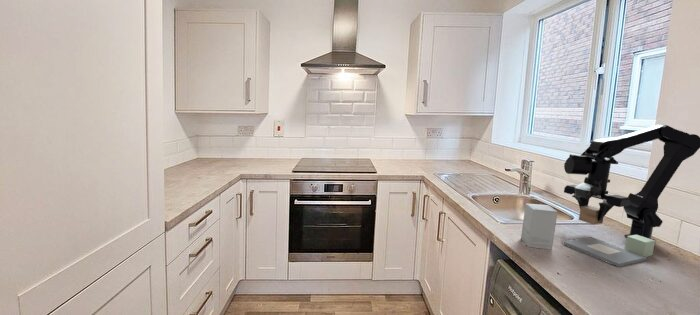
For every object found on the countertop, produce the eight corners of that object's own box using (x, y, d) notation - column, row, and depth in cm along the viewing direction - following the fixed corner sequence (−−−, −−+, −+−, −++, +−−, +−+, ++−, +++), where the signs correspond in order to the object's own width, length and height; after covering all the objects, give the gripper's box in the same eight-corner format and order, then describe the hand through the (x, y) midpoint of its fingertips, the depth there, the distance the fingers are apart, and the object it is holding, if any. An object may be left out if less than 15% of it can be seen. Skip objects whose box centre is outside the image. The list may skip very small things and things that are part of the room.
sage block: (633, 249, 107) (636, 234, 106) (652, 255, 102) (655, 240, 101) (624, 250, 105) (627, 236, 104) (643, 257, 100) (646, 242, 99)
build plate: (590, 239, 113) (590, 236, 113) (646, 260, 98) (646, 256, 98) (563, 244, 108) (563, 241, 107) (618, 267, 93) (618, 263, 93)
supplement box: (552, 250, 102) (558, 211, 101) (527, 247, 104) (532, 209, 102) (543, 241, 110) (549, 204, 108) (520, 238, 111) (525, 202, 109)
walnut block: (587, 218, 120) (589, 205, 119) (602, 223, 115) (604, 209, 114) (578, 219, 118) (580, 206, 117) (593, 224, 113) (595, 210, 112)
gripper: (556, 171, 119) (550, 212, 122) (613, 182, 102) (605, 230, 105) (576, 170, 123) (570, 209, 126) (634, 181, 106) (626, 226, 109)
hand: (590, 218), depth 116 cm, fingers closed on walnut block, 5 cm apart
